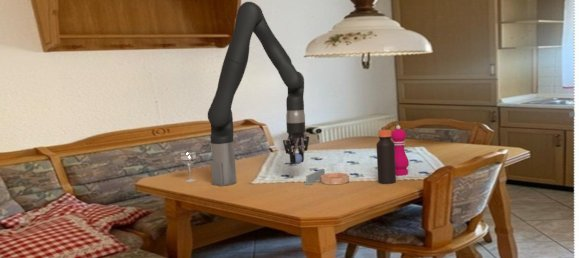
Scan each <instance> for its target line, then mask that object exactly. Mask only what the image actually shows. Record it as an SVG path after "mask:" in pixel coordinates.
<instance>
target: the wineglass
mask: <svg viewBox="0 0 579 258" xmlns="http://www.w3.org/2000/svg"><path fill="white" fill-rule="evenodd" d="M180 161H181V163H182V164H184V165H186V166H187V167H188V174H189V179H186V180H184V182H186V183H190V182H196V181H197V179H196V178H195V179H194V178H192V177H191V176H192V175H191V174H192V173H191V166H192V165H194V164H195V163H196V161H197V155H196V151H186V152H181V153H180Z"/></svg>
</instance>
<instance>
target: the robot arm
mask: <svg viewBox="0 0 579 258" xmlns="http://www.w3.org/2000/svg"><path fill="white" fill-rule="evenodd" d="M253 33H254V35H255V36H256V38H257V39H258V40H259V43H260V45H261V46H262V48H263V50H264V52H265V53H266V55H267V57H268V58H269V60H270V62H271V64H272V65H273V66H274V67H275V69H276V70H277V72H278V75H279V76H280V78H281V80H282V82H283V83H284V85H285V86H286V87H287V97H286V104H285V105H286V113H285V117H286V118H285V119H286V120H285V121H286V123H285V124H286V133H287V134H288V137H287V139H283V140H282V143H283V147H284V151H285V154H286V155H289V163H290V164H291V165H297V164H296V158H295V154H296V151H297V152H298V154H300V155H301V156H302V162H301V163H303V162H304V161H305V152H306V151H307V152H308V149H309V141H310V137H309V136H307V135H305V133H306V114H305V102H304V95H305V94H304V93H305V78H304V75H303V74H302V73H301V72H299V71H297V69H296V67H295V65H293V63H292V59H291V57H290V56H289V54H288V53H287V51H286V49H285V48H284V47H283V45H282V44H281V43H280V41H279V40H278V39H277V37H276V35H275V34H274V33H273V31H272V29H271V28H270V26H269V24H268V22H267V20H266V17H265V15H264V13H263V10H262V8H261V6H259V4H256V3H255V2H252V1H246V2H243V3H241V4H240V6H239V8H238V9H237V12H236V19H235V23H234V30H233V33H232V37H231V39H230V42H229V44H228V47H227V50H226V53H225V56H224V59H223V63H222V66H221V69H220V74H219V76H218V77H219V79H218V83H217V88H216V91H215V95H214V97H213V99H212V102H211V104H210V106H209V109H208V111H207V120H208V122H209V123H210V147H211V150H210V151H211V159H212V161H211V162H210V170H211V171H210V172H211V184H212V185H214V186H220V187H223V186H231V185H235V184H236V183H237V172H236V171H237V170H236V160H235V159H236V158H235V157H236V155H235V145H234V120H233V111H232V105H233V100H234V98H235V97H234V96H235V94H236V93H237V90H238V88H239V86H240V84H241V83H242V81H243V77H244V76H245V71H246V70H247V69H246V68H247V65H248V62H249V56H250V55H249V53H250V45H251V39H252V36H253Z"/></svg>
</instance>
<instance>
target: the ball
mask: <svg viewBox="0 0 579 258" xmlns="http://www.w3.org/2000/svg"><path fill="white" fill-rule="evenodd" d="M298 153H299V152H298ZM298 153H296V152H295V158H296V164H295V165H300V164H301V163H303V162H302V156H301V155H300V154H298Z"/></svg>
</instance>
